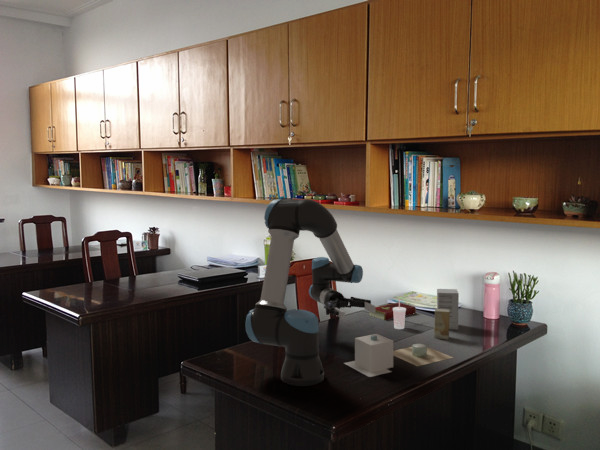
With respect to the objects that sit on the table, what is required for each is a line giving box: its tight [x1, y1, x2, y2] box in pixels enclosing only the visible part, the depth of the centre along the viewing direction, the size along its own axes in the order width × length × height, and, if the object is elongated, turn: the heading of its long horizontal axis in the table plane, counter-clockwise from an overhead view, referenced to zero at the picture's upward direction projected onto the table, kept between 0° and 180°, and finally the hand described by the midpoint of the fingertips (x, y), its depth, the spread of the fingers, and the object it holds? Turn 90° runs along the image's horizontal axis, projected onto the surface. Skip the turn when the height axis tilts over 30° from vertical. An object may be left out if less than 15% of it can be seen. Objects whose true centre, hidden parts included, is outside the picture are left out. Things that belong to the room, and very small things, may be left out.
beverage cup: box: [393, 297, 406, 330], centre depth 247 cm, size 6×6×14 cm
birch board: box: [393, 346, 454, 367], centre depth 209 cm, size 18×18×1 cm
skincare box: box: [433, 308, 450, 340], centre depth 231 cm, size 6×4×12 cm
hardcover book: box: [368, 301, 417, 321], centre depth 271 cm, size 12×21×4 cm, turn 124°
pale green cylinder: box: [411, 343, 428, 357], centre depth 209 cm, size 6×6×4 cm
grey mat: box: [343, 360, 393, 378], centre depth 199 cm, size 16×16×1 cm
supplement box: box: [436, 288, 460, 330], centre depth 248 cm, size 10×9×17 cm
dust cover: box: [354, 333, 394, 373], centre depth 198 cm, size 10×10×11 cm
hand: (359, 312), depth 205 cm, fingers open, 13 cm apart
